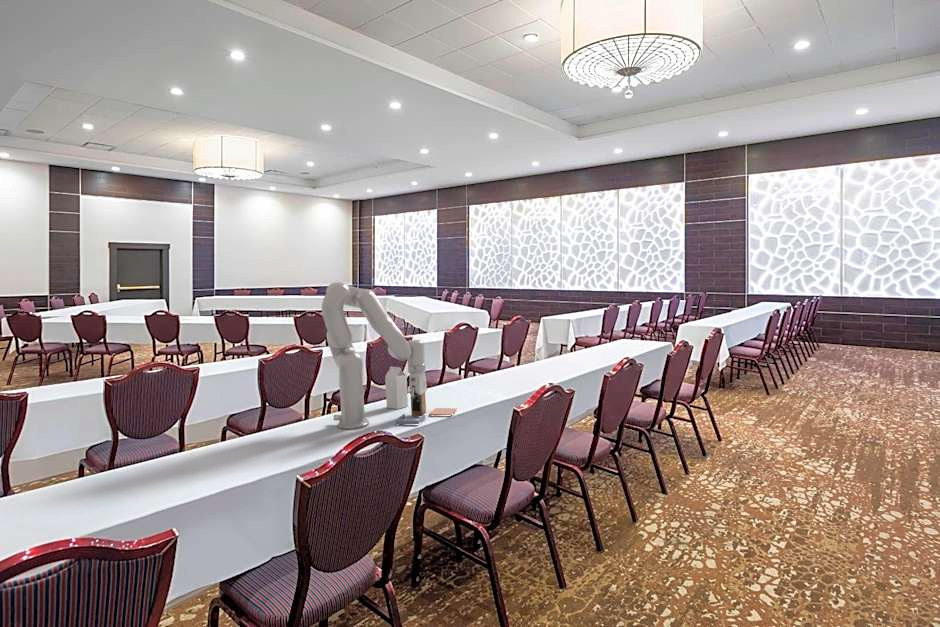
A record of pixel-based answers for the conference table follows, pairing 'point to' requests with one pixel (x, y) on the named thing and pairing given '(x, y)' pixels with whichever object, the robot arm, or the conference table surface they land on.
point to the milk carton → (396, 388)
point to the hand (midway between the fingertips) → (418, 408)
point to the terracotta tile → (443, 411)
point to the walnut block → (422, 406)
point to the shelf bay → (402, 421)
